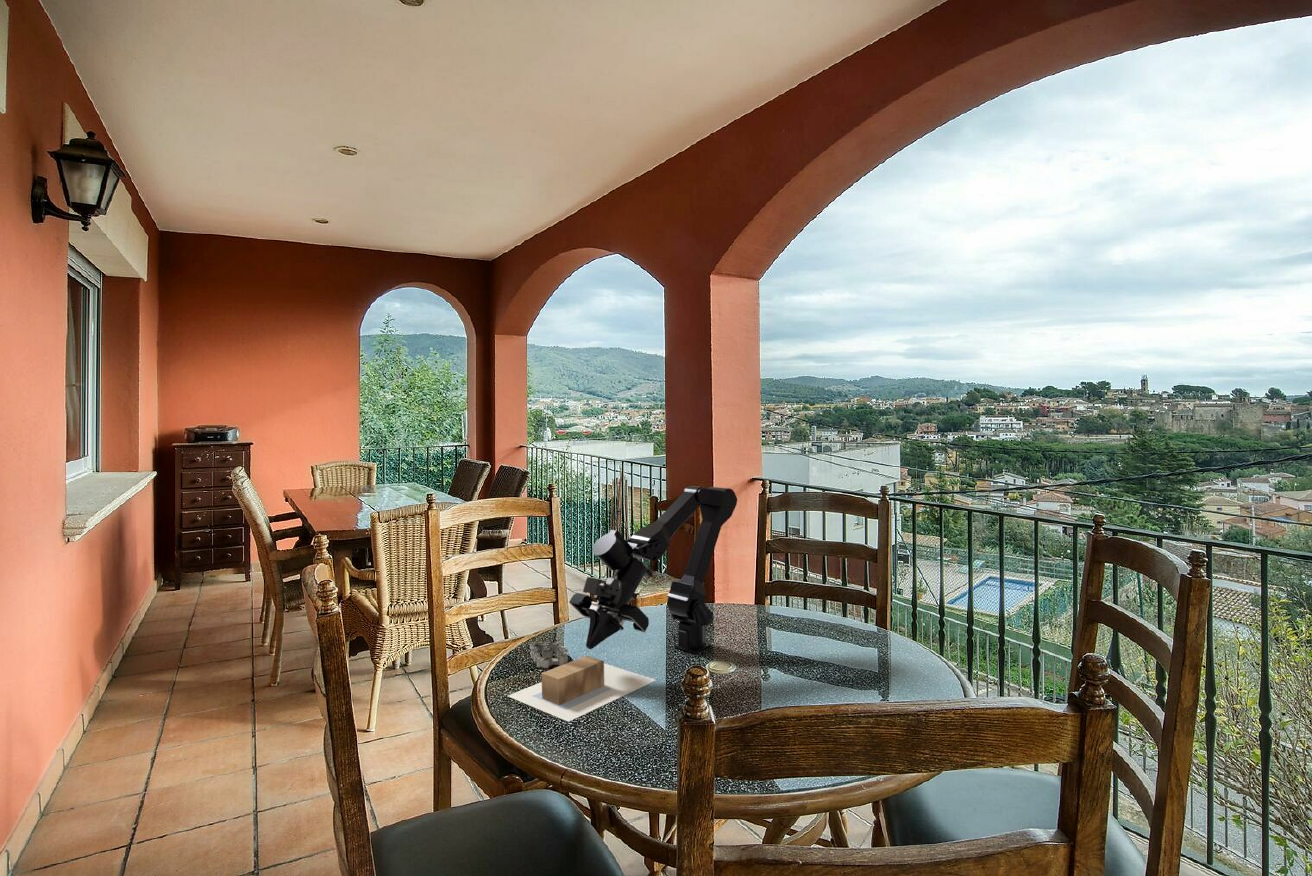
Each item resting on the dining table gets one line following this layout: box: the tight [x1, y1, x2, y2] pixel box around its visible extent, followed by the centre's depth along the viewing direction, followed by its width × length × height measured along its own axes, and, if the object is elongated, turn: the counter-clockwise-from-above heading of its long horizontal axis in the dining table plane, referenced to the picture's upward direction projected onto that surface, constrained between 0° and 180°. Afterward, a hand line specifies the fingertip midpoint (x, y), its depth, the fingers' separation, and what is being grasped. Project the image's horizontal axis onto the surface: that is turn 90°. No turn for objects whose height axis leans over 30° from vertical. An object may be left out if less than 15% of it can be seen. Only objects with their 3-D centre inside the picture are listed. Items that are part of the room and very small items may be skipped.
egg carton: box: [529, 640, 569, 669], centre depth 155 cm, size 11×8×4 cm
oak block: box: [541, 655, 605, 705], centre depth 136 cm, size 5×5×12 cm
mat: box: [507, 662, 657, 723], centre depth 138 cm, size 24×18×1 cm
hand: (588, 648), depth 139 cm, fingers closed
